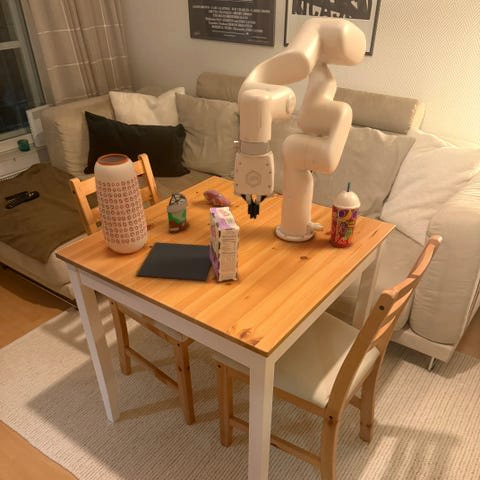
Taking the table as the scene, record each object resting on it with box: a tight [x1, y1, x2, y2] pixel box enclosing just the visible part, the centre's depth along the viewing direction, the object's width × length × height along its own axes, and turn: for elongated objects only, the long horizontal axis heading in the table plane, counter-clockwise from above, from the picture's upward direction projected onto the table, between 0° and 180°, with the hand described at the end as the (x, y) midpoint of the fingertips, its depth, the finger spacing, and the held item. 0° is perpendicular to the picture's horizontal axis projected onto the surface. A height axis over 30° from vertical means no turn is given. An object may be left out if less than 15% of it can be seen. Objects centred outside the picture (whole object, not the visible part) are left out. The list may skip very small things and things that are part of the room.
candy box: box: [209, 206, 240, 282], centre depth 128 cm, size 14×6×16 cm, turn 13°
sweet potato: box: [203, 188, 231, 207], centre depth 169 cm, size 10×5×7 cm, turn 47°
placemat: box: [136, 242, 212, 282], centre depth 137 cm, size 20×20×1 cm
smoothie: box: [330, 181, 361, 248], centre depth 140 cm, size 8×8×20 cm
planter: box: [93, 153, 148, 255], centre depth 135 cm, size 13×13×28 cm
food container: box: [166, 191, 189, 234], centre depth 153 cm, size 12×6×10 cm, turn 179°
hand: (253, 216), depth 122 cm, fingers closed
